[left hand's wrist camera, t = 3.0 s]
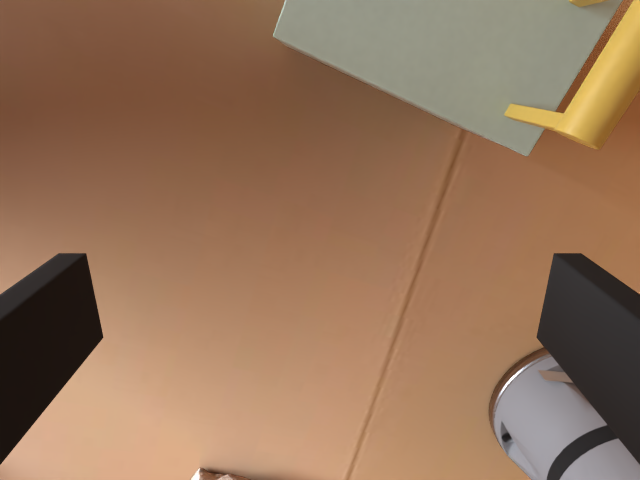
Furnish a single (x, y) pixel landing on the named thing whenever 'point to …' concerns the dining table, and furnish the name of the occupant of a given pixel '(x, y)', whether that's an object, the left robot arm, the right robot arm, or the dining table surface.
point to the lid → (482, 59)
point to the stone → (214, 476)
